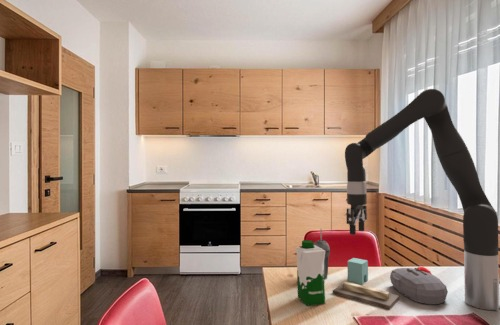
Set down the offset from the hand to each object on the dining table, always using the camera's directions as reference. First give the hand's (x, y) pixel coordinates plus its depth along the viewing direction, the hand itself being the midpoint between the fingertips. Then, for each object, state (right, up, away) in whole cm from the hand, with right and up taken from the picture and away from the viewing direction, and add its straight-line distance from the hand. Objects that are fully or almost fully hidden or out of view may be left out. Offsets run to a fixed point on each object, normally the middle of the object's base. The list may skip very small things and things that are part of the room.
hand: (357, 232), depth 130 cm
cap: (+25, -19, -3) cm, 31 cm away
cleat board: (-3, -19, -16) cm, 25 cm away
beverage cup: (-14, -20, +3) cm, 24 cm away
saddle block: (0, -19, -1) cm, 19 cm away
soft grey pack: (+17, -19, -15) cm, 30 cm away
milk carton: (-22, -20, -19) cm, 35 cm away
